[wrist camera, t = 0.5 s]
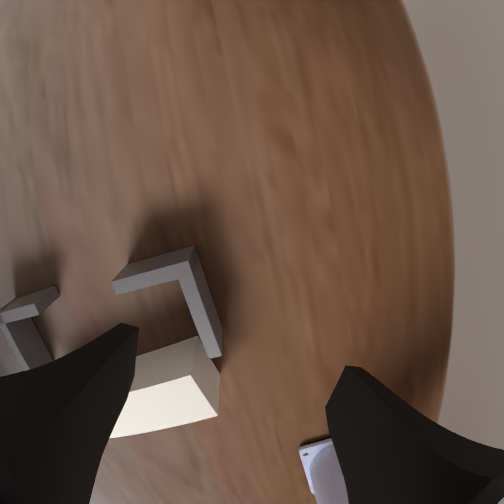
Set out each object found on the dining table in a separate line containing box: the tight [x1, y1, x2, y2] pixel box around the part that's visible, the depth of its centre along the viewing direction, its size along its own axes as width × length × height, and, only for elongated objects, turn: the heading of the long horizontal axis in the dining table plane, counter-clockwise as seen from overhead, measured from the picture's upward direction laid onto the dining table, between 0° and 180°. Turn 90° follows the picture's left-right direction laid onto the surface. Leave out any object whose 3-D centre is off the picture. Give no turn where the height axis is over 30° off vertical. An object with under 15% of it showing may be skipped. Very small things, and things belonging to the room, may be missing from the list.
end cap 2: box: [111, 245, 223, 359], centre depth 18 cm, size 6×4×3 cm
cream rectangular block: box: [110, 336, 220, 438], centre depth 20 cm, size 4×12×4 cm, turn 112°
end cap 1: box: [0, 286, 60, 371], centre depth 19 cm, size 6×4×3 cm
